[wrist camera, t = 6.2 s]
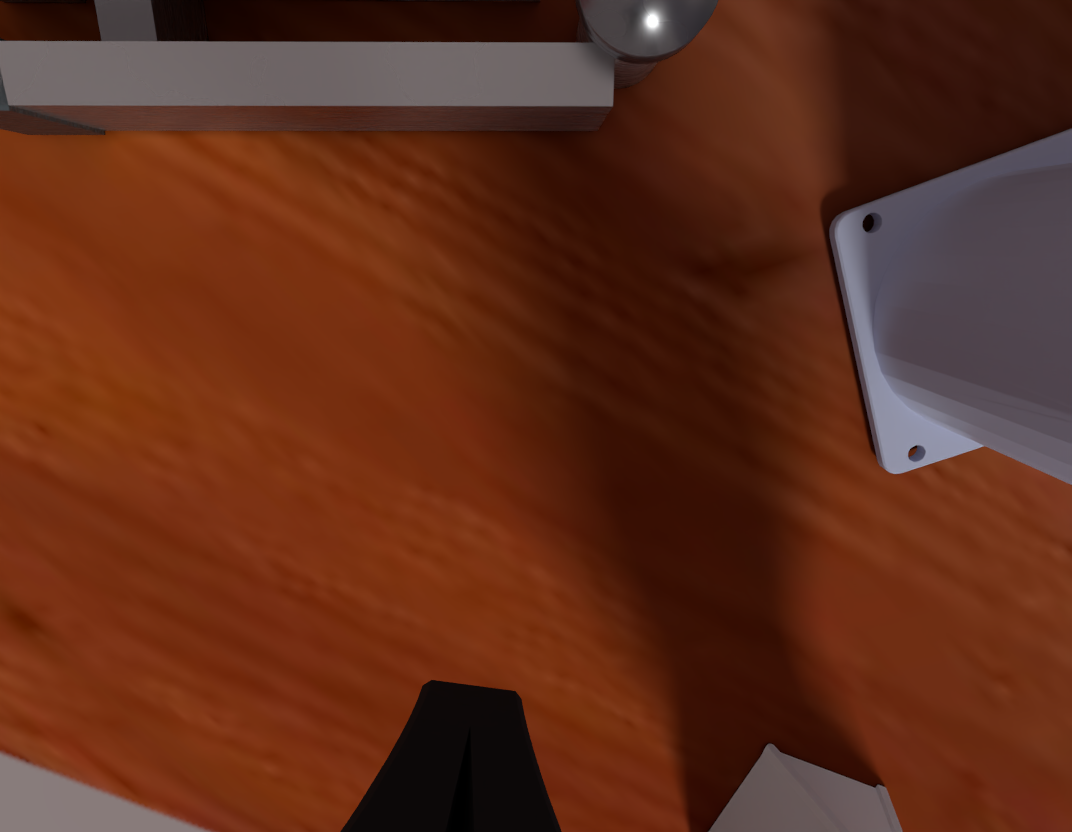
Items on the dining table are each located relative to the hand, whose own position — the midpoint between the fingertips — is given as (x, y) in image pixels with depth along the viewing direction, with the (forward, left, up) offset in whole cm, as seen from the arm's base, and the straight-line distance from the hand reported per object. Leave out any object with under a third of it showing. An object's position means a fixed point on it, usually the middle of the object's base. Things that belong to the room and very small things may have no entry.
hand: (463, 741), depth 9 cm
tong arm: (0, -12, -10) cm, 16 cm away
